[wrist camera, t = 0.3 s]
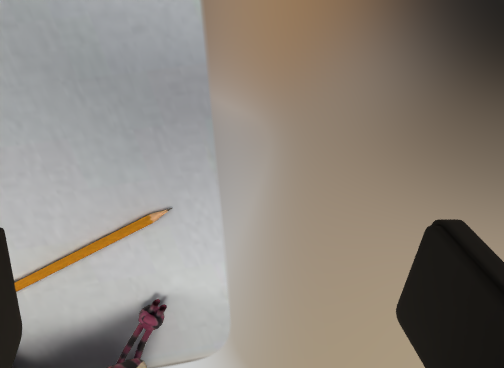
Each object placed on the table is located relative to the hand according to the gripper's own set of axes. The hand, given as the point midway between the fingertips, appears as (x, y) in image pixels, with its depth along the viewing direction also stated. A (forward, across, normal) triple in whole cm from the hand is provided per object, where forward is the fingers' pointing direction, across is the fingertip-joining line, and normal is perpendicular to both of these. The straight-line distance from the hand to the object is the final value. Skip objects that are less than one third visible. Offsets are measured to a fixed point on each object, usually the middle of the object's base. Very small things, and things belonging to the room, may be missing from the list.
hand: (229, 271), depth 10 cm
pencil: (+17, +9, +14) cm, 24 cm away
